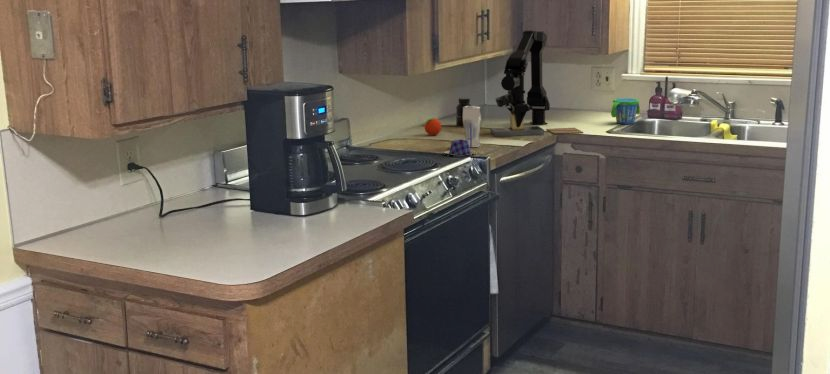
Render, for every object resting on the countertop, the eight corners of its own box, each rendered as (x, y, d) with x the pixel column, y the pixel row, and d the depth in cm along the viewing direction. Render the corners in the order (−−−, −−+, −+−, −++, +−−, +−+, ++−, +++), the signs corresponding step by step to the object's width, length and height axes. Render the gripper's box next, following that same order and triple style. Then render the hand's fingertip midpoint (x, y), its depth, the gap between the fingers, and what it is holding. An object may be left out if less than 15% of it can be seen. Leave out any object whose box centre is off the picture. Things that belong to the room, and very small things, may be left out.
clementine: (432, 137, 366) (431, 119, 364) (419, 135, 371) (418, 118, 369) (444, 134, 372) (444, 117, 370) (432, 133, 376) (431, 116, 375)
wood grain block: (510, 133, 372) (510, 113, 370) (520, 132, 373) (520, 113, 371) (512, 134, 368) (512, 115, 366) (523, 134, 368) (523, 114, 367)
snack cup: (619, 126, 382) (620, 102, 380) (603, 123, 391) (603, 99, 389) (647, 123, 390) (648, 99, 388) (630, 120, 399) (631, 97, 397)
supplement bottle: (454, 126, 392) (453, 99, 389) (459, 124, 398) (459, 97, 395) (469, 127, 389) (469, 99, 386) (474, 125, 395) (474, 97, 393)
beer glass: (469, 148, 339) (468, 108, 335) (459, 146, 345) (459, 106, 342) (485, 147, 342) (484, 107, 339) (475, 144, 348) (475, 105, 345)
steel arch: (490, 132, 374) (490, 127, 373) (537, 130, 376) (537, 125, 376) (495, 136, 364) (495, 131, 364) (543, 134, 366) (544, 129, 366)
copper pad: (546, 129, 378) (546, 128, 377) (574, 128, 379) (574, 127, 379) (554, 134, 366) (554, 133, 366) (583, 133, 367) (583, 132, 367)
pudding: (457, 150, 337) (456, 136, 336) (483, 154, 330) (483, 139, 329) (436, 155, 328) (436, 141, 327) (463, 159, 321) (463, 144, 320)
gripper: (492, 86, 374) (492, 123, 378) (502, 91, 356) (502, 130, 360) (518, 85, 376) (518, 122, 379) (530, 90, 357) (529, 129, 361)
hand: (516, 126), depth 370 cm, fingers closed on wood grain block, 4 cm apart
